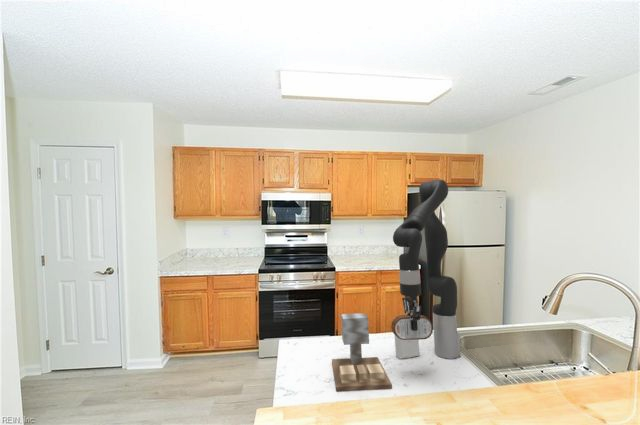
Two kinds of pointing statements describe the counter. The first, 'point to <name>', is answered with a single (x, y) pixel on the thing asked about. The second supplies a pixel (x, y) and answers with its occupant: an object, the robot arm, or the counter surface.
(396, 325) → the tin
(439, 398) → the counter surface
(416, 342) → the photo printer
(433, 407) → the counter surface
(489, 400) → the counter surface
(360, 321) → the display stand
